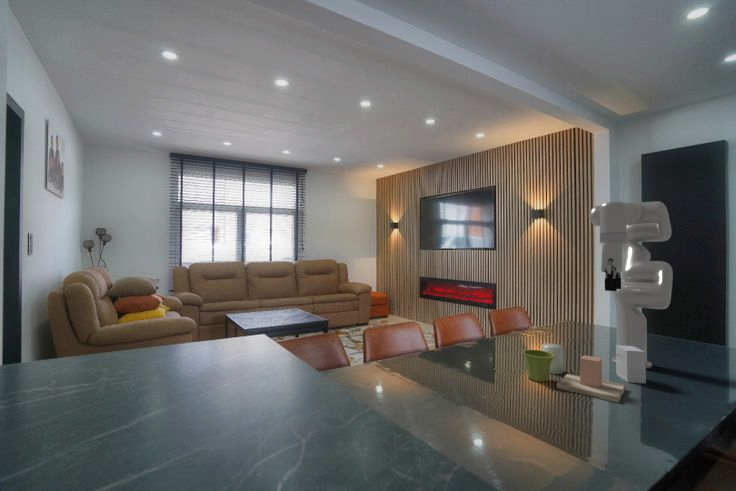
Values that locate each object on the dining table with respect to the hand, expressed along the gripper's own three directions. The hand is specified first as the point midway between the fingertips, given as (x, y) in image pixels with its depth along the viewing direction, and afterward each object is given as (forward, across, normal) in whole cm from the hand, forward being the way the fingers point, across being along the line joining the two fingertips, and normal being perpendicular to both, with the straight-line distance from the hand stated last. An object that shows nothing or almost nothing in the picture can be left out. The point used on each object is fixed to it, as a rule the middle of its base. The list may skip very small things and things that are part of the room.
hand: (613, 289), depth 122 cm
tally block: (+29, +14, -4) cm, 32 cm away
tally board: (+30, +14, -4) cm, 34 cm away
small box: (+31, -6, +4) cm, 31 cm away
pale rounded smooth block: (+30, +3, -18) cm, 35 cm away
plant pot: (+31, +16, -19) cm, 39 cm away
